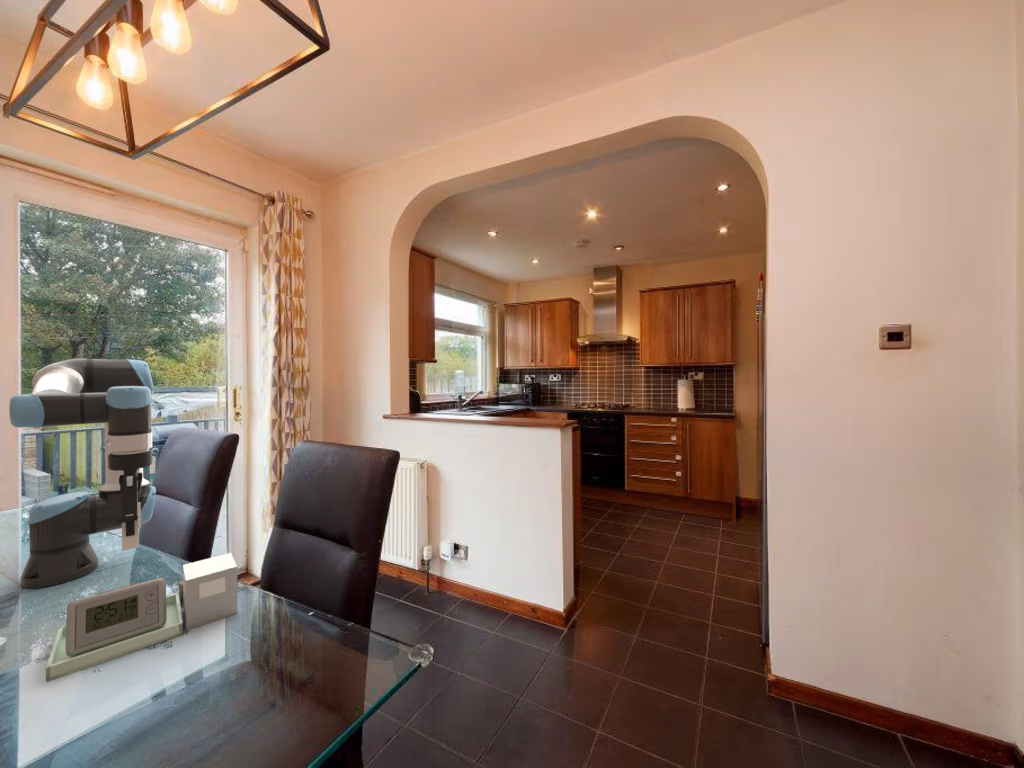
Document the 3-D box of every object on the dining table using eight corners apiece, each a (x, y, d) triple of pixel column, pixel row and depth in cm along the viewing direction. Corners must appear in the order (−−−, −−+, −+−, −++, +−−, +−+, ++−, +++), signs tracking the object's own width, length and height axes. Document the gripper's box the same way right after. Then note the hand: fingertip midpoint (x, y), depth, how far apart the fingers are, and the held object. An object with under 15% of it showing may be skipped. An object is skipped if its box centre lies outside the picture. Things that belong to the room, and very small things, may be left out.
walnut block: (179, 601, 104) (178, 582, 104) (201, 592, 108) (201, 574, 108) (186, 607, 101) (186, 588, 101) (209, 597, 105) (209, 579, 105)
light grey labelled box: (183, 610, 99) (182, 564, 99) (231, 595, 106) (230, 552, 106) (186, 630, 92) (185, 581, 91) (237, 613, 99) (237, 566, 98)
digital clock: (59, 662, 81) (58, 612, 80) (78, 636, 88) (76, 590, 88) (162, 635, 89) (162, 589, 89) (171, 614, 97) (170, 572, 97)
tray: (59, 639, 88) (59, 627, 88) (178, 603, 103) (178, 592, 102) (45, 682, 76) (45, 668, 76) (182, 634, 90) (182, 622, 90)
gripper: (112, 444, 99) (114, 525, 100) (102, 464, 81) (104, 563, 82) (152, 440, 104) (153, 518, 105) (151, 458, 86) (152, 552, 87)
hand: (132, 538), depth 94 cm, fingers open, 13 cm apart
